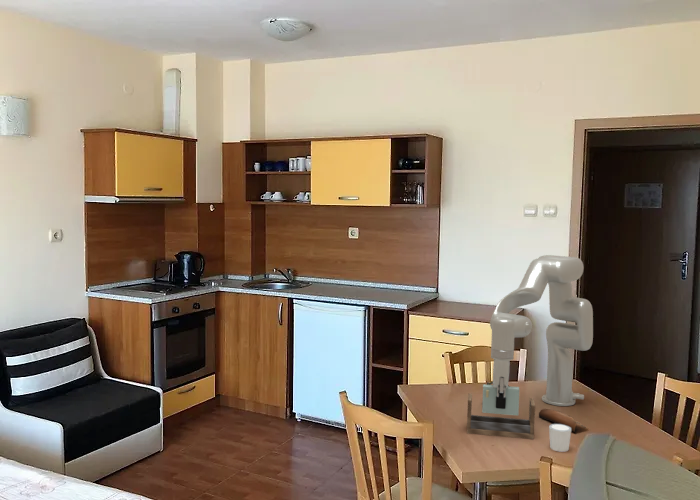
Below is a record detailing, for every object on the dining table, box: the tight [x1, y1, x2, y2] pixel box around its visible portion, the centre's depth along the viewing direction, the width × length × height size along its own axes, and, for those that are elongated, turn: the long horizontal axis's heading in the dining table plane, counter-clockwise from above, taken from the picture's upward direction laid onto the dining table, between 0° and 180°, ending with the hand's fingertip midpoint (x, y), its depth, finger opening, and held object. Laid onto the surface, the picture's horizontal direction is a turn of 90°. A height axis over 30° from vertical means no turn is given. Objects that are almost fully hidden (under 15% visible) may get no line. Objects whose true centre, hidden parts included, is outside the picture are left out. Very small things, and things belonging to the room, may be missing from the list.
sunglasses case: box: [538, 408, 591, 435], centre depth 225 cm, size 18×7×7 cm
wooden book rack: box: [466, 392, 536, 440], centre depth 216 cm, size 22×8×12 cm, turn 78°
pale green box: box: [481, 384, 520, 416], centre depth 215 cm, size 12×4×9 cm, turn 78°
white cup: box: [548, 423, 572, 453], centre depth 202 cm, size 7×7×7 cm
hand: (500, 406), depth 215 cm, fingers closed on pale green box, 3 cm apart
